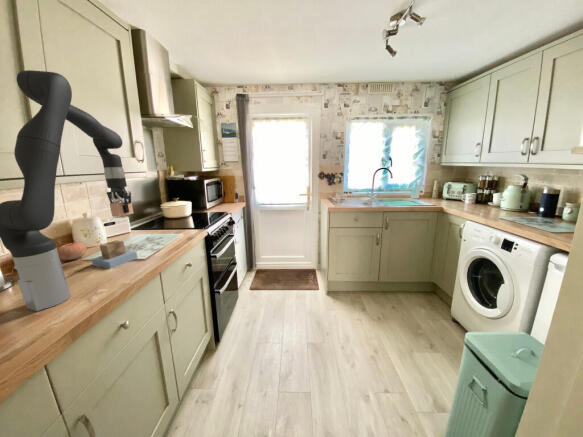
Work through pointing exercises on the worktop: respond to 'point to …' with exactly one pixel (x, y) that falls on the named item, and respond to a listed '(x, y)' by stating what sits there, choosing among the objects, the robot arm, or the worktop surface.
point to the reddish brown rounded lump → (71, 251)
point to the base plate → (114, 260)
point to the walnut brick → (112, 249)
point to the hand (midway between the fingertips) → (122, 212)
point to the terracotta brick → (120, 209)
